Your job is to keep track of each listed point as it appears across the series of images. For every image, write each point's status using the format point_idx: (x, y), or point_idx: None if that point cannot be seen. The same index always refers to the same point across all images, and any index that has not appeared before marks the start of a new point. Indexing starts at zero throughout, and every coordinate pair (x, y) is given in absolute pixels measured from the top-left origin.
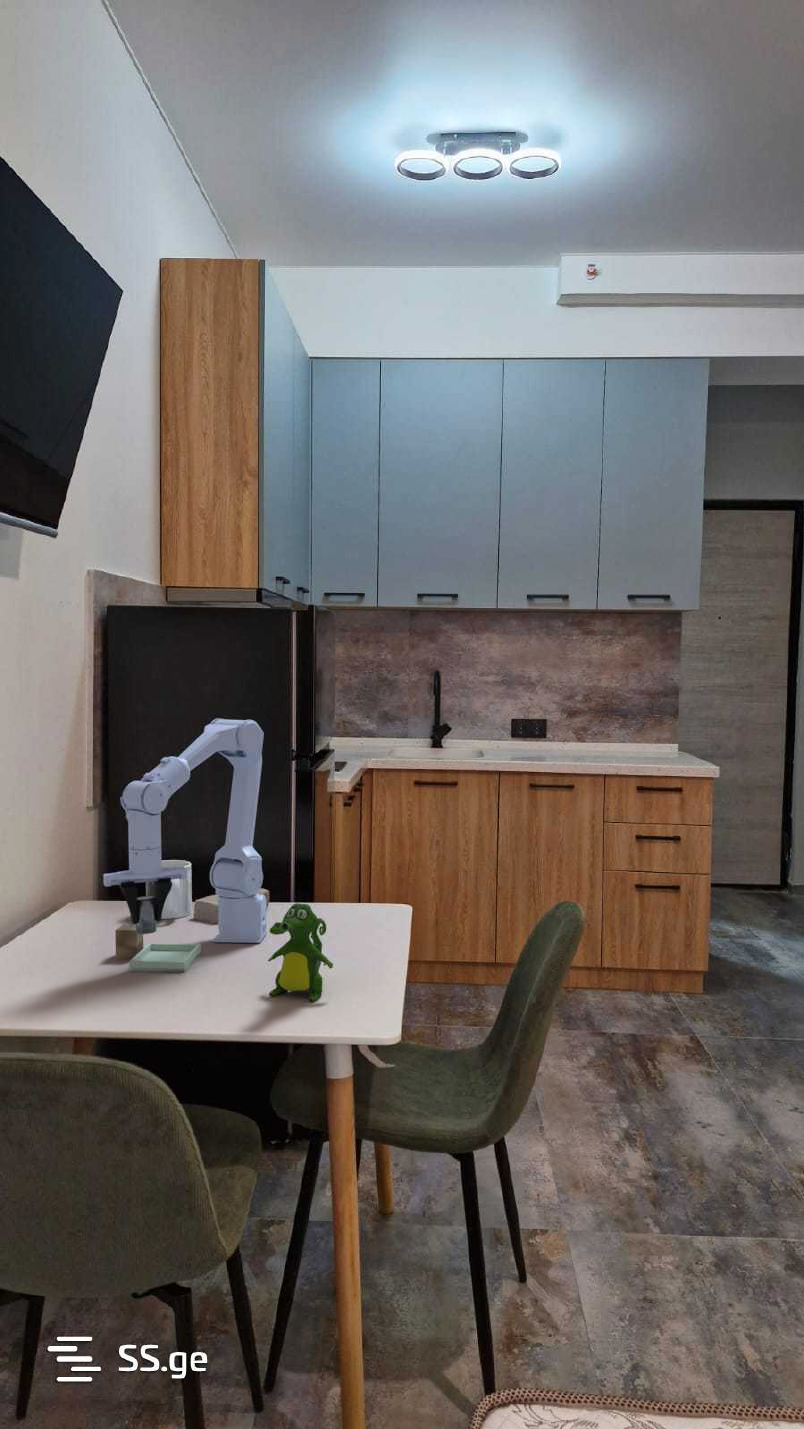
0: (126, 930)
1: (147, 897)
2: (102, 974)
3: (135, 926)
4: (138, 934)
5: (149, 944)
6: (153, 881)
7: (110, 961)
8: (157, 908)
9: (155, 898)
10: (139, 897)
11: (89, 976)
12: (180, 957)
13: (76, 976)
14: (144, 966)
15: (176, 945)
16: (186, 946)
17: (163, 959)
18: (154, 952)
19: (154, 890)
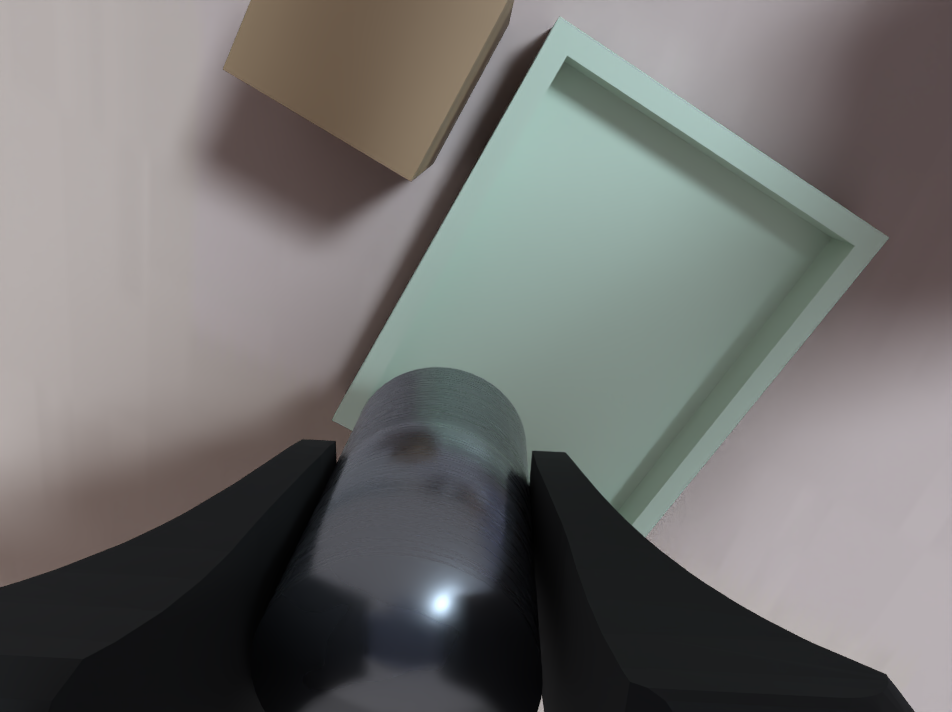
0: (324, 128)
1: (442, 632)
2: (196, 379)
3: (431, 13)
4: (441, 131)
5: (548, 64)
6: (629, 691)
7: (262, 128)
8: (540, 640)
9: (537, 704)
10: (330, 575)
11: (126, 382)
12: (674, 333)
13: (54, 350)
14: None
15: (728, 161)
16: (785, 201)
17: (566, 327)
18: (563, 135)
19: (587, 630)
